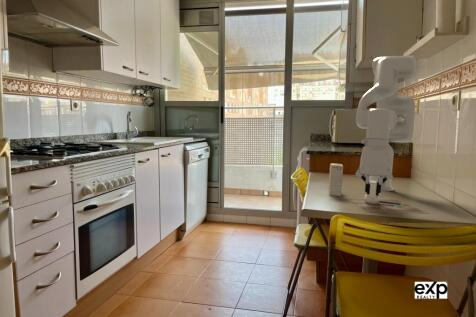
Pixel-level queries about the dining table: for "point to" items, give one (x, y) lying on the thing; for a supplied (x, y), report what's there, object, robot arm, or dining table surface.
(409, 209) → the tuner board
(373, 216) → the dining table surface
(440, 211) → the dining table surface
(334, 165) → the supplement box
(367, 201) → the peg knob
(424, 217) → the dining table surface
